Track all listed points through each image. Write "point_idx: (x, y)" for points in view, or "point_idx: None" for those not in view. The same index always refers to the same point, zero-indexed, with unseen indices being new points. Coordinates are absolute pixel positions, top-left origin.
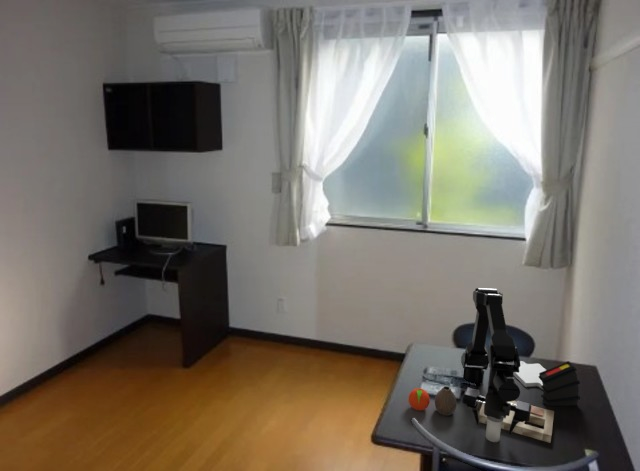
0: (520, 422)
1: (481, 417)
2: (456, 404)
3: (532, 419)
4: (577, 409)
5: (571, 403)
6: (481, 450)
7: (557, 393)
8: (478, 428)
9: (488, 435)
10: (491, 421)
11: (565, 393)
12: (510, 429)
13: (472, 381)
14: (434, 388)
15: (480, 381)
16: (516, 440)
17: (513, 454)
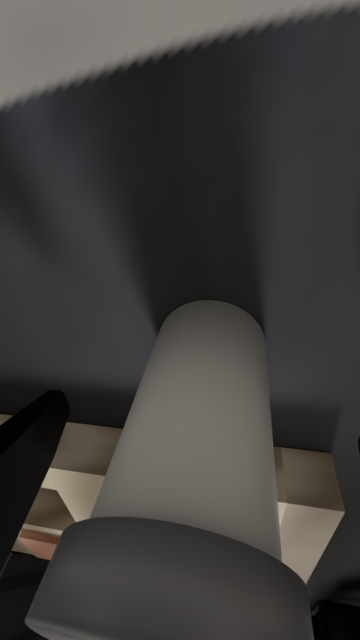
0: (75, 494)
1: (315, 490)
2: None
3: (62, 508)
4: None
5: (17, 562)
6: (291, 91)
7: (27, 613)
8: (326, 400)
9: (240, 335)
10: (211, 508)
11: (9, 612)
12: (11, 434)
13: (357, 633)
14: None
15: (319, 632)
16: (69, 373)
17: (10, 219)
